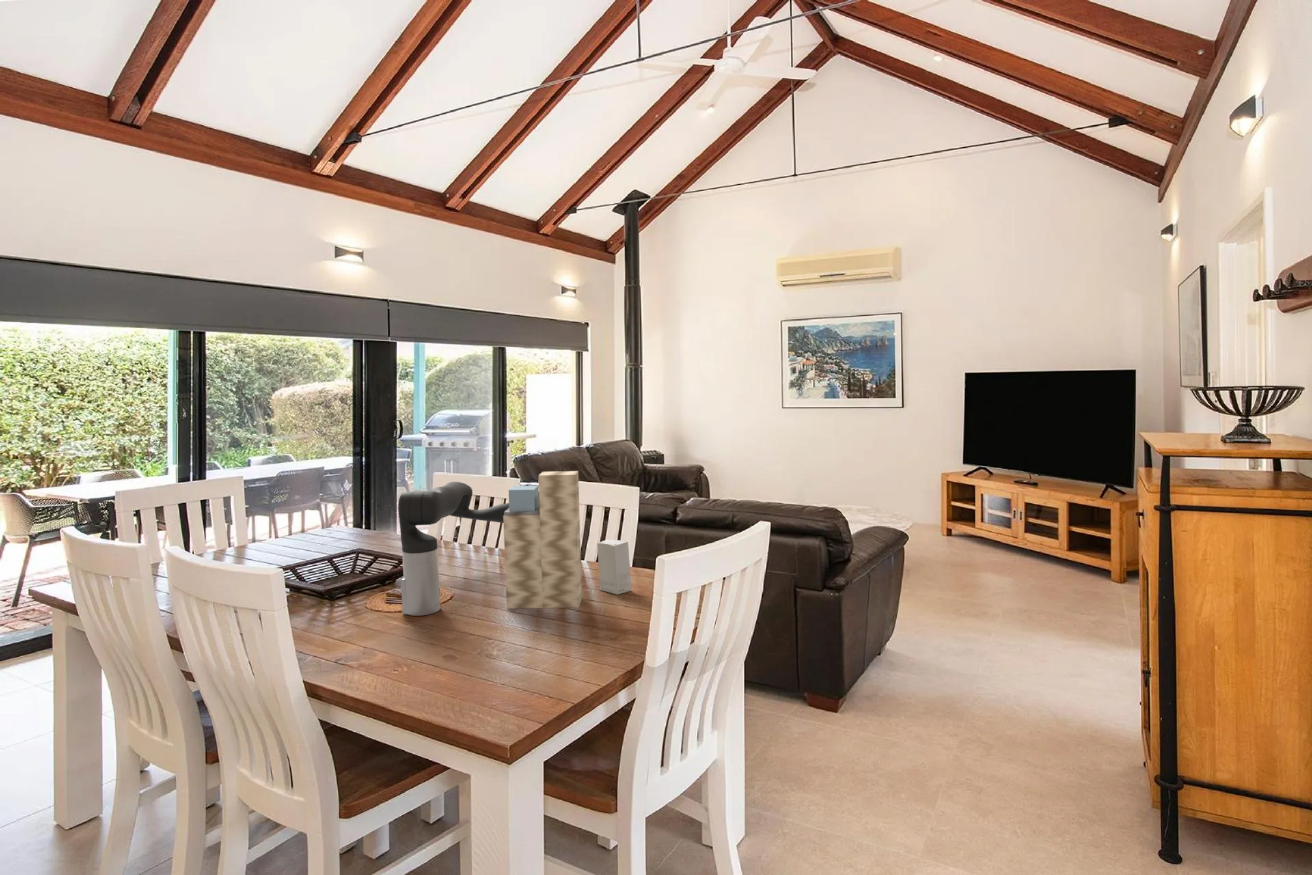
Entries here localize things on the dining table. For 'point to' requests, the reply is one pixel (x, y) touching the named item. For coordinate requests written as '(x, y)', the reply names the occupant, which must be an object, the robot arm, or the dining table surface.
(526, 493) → the blue handle block
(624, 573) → the skincare box
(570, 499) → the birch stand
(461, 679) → the dining table surface
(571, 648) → the dining table surface
